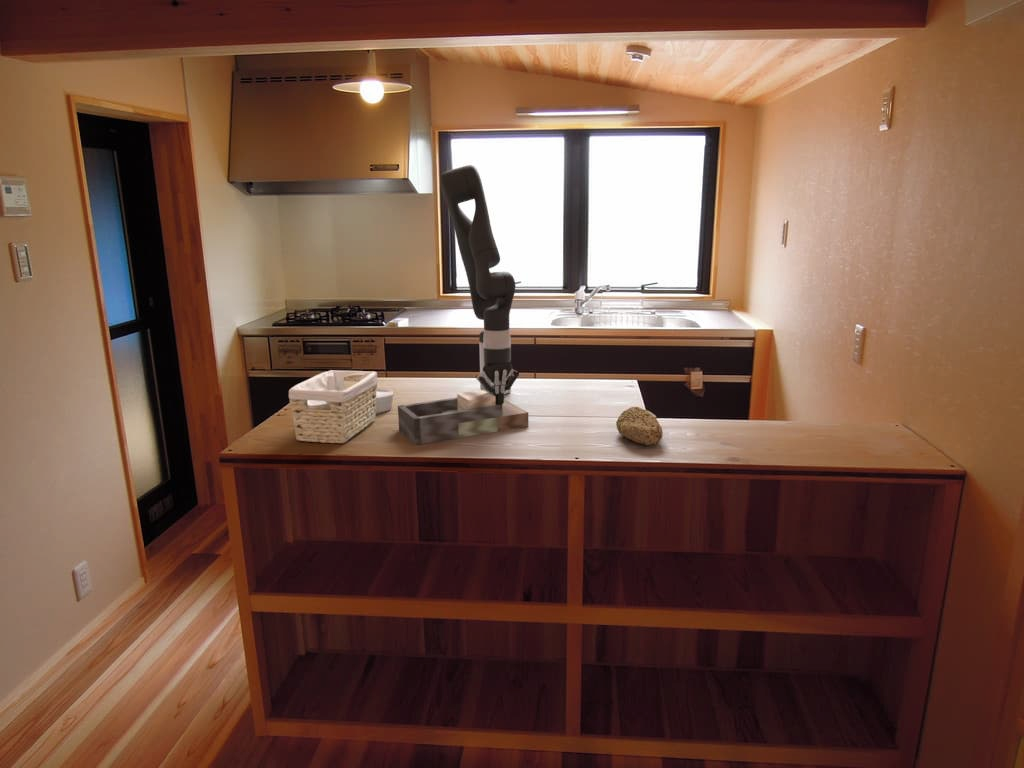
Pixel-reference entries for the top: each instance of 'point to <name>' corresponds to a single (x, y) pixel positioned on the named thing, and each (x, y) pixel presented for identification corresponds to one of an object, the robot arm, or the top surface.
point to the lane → (456, 420)
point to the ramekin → (383, 400)
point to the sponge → (639, 426)
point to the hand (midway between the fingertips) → (498, 405)
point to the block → (475, 400)
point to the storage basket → (333, 406)
